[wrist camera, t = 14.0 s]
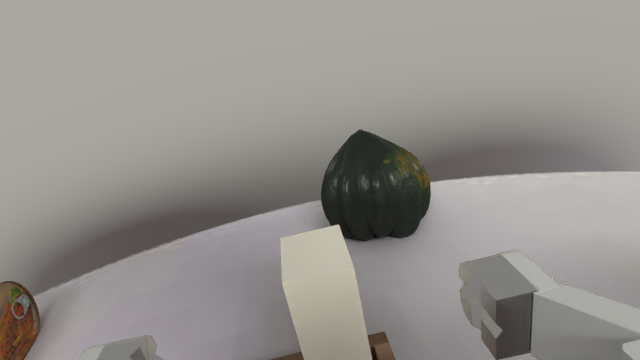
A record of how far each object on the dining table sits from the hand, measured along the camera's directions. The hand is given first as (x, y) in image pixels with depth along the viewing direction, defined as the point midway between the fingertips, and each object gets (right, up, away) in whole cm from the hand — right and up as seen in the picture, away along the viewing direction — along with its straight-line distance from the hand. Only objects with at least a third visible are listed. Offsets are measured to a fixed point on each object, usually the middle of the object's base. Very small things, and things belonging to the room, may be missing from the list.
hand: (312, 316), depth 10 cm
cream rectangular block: (+3, -14, +18) cm, 24 cm away
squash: (+9, -4, +45) cm, 46 cm away
